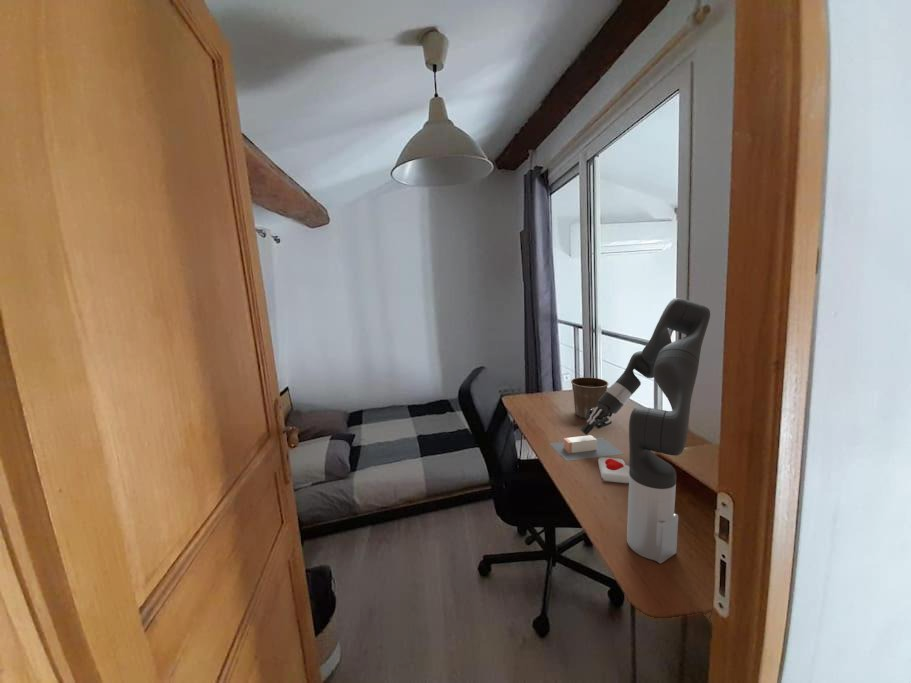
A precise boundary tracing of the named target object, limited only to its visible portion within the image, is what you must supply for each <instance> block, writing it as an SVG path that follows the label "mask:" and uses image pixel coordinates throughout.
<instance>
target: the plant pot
mask: <svg viewBox="0 0 911 683" xmlns="http://www.w3.org/2000/svg"><path fill="white" fill-rule="evenodd" d="M570 383H571V387H572V392H573V401H574V413H575V415H576V416H578V417H579V418H582V419H584V418H586V414H587V410H588V408H589V407H591V408H595V406H596V405H598V404H599V399H600V397H601V396H602V395H603V394H604V393H605V392H606V391H607V390H608V386H609V382H608V381H607V380H605V379H603V378H602V379H601V378H599V377H589V376H588V377H575V378H572V379H571V380H570ZM589 418H590V417H589Z"/></svg>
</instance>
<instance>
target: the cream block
mask: <svg viewBox="0 0 911 683" xmlns="http://www.w3.org/2000/svg"><path fill="white" fill-rule="evenodd" d="M595 438H596V437H594V436H593V435H592V434H589V435H588V434H587V435H581V436H579V435H578V436H573V437H572V436H571V437H564V438H563V442H564V449H565V450H566V451H567V452H568V453H575V452H583V451H592V450H597V439H595Z"/></svg>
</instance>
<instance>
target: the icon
mask: <svg viewBox="0 0 911 683" xmlns="http://www.w3.org/2000/svg"><path fill="white" fill-rule="evenodd" d="M597 463H598V467H599V473H600V478H601V479H602V480H603V481H604V482H610V483H618V484H629V465H627V464H626V463H625V461H624V460H623V459H621V458H613V457H605V456H604V457H598V460H597Z"/></svg>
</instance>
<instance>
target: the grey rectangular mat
mask: <svg viewBox="0 0 911 683" xmlns="http://www.w3.org/2000/svg"><path fill="white" fill-rule="evenodd" d="M594 438H595V439H597V450H592V451H583V452H575V453H568V452H567V451H566V450H565V449H564V441H562V442H559V441H557V442H552V443H551V442H550V443H549V445H550V446H551V447H552V448H553V450H555V451H556V452H557V454H558V455H560V457H561V458H562V459H563V460H564V461H566V462H570V461H577V460H578V461H579V460H586V459H596V458H601V457H604V458H605V457H611V456H618V455H619V456H620V455H625V453H624V452H623V451H621V450H620V449H619V448H617V447H615V445H613V444H611V443H610V442H609V441H607V440H606V439H604V438H603V437H594Z"/></svg>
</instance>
